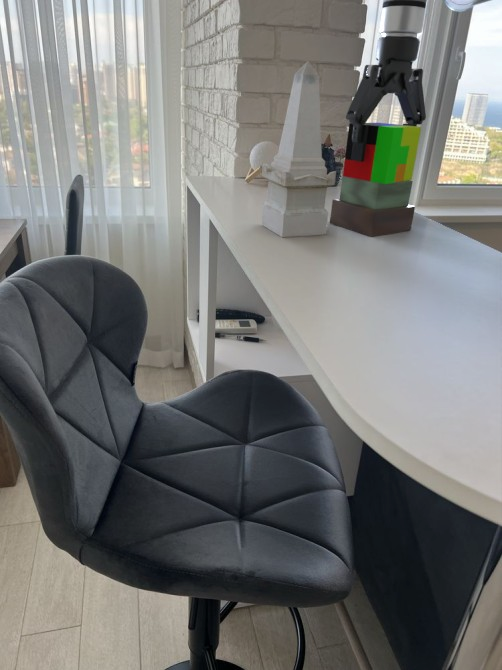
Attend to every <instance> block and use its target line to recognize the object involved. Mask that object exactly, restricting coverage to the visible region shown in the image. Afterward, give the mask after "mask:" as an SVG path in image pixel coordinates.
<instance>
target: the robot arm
mask: <svg viewBox="0 0 502 670" xmlns="http://www.w3.org/2000/svg"><path fill="white" fill-rule="evenodd" d="M427 1H428V0H382V8H381V16H380V24H379V30H378V31H379V32H378V33H379V34H380V35H381V37H379V38H378V39H377V45H376V52H375V60H376V61H378V63H377V64H365V65H364V68H363V73H362V78H361V80H360V83H359V85H358V86H357V89H356V91H355V94H354V96H353V97H352V101H351V103H350V105H349V108H348V110H347V112H346V114H345V119H346V120H347V121H349V123H353V134H352V142H353V148H352V156H351V160H354V161H360V162H364V158H365V150H366V142H367V135H368V127H369V125H364V124H365V123H367V121H368V120H369V119H370V117H371V116H372V114H373V113H374V111H375V110H376V108H377V107H378V106H379V104H380V102H381V101H382V99H383V98H384V97H385V96H386V95H388V94H394V96H396V97H397V100H398V103H399V105H400V108H401V111H402V114H403V117H404V120H405V122H406V123H402V125H406V126H416V127H418V125H422V124H423V122H424V121H425V120H426V118H427V114H426V105H425V104H426V103H425V97H424V87H423V76H424V69H423V68H413V63H415V62H417V60H418V56H419V52H420V44H421V40H420V39H419V36H421V35H422V34H423V27H424V22H425V16H426V7H427ZM491 1H492V0H444V1H443V2H444V3H445V5H446V7H447V8H449V9H450V10H451V11H454V12H465V11H469V10H471V9H472V8H474V7H475V6H478V5H481V4H484V3H488V2H491Z"/></svg>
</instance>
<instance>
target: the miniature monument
mask: <svg viewBox="0 0 502 670" xmlns="http://www.w3.org/2000/svg"><path fill="white" fill-rule="evenodd" d="M321 128H322V125H321V97H320V75H319V74H318V72H317V71H316V70H315V68H314V67H313V65H312V64H311V63H310V61H309V60H307V61H306V62H305V63H304V64H303V65H302V66H301V67H300V68H299V69H298V70H297V72H295V73H294V76H293V81H292V85H291V90H290V95H289V100H288V104H287V109H286V113H285V118H284V122H283V128H282V132H281V137H280V142H279V148H278V151H277V154H275V155H274V156H273V161H272V162H271V163H270V166H269V164H267V163H264V162H263V163H262V167H261V177H262V178H264V179H265V180H267V183H268V184H267V196H266V197H267V198H266V201H264V203H262V215H261V217H262V218H261V226H263V227H265V228H266V229H268V230H269V231H271V232H272V233H274V234H276V235H278V236H279V237H281V238H292V237H294V238H295V237H307V236H324V235H325V236H326V232H327V224H328V217H329V212H328V211H327V209H326V208H325V207H326V197H327V188H329V187H332V186H335V185H336V179H337V178H336V177H337V170H334V171H330V172H329V173H328V168H327V167H326V160H325V159H324V158H323V156H322V155H323V154H322V152H323V151H322V129H321ZM327 173H328V174H327Z"/></svg>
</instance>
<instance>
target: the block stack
mask: <svg viewBox="0 0 502 670" xmlns="http://www.w3.org/2000/svg"><path fill="white" fill-rule="evenodd" d="M412 187H413V180H407V181H401V182H395V183H389V184H382V183H377V182H371V181H366V180H361V179H355V178H350V177H344V176H343V175H342V177H341V183H340V190H339V191H340V193H339V198H334V199H332V201H331V209H330V218H329V224H332V225H334V226H338V227H341V228H344V229H346V230H350V231H353V232H356V233H358V234H362V235H365V236H368V237H370V238H371V237H378V236H384V235H390V234H391V235H392V234H396V233H402V232H408V231H411V230H412V226H413V219H414V216H415V210H416V206H415V205H411V204H409V203H410V198H411V193H412Z"/></svg>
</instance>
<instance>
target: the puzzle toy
mask: <svg viewBox="0 0 502 670" xmlns="http://www.w3.org/2000/svg"><path fill="white" fill-rule="evenodd" d="M364 125H369V127H368V135H367V142H366V150H365V158H364V162H360V161H354V160H351V156H352V148H353V142H352V134H353V123H350V122H349V124H348V131H347V139H346V146H345V147H346V148H345V153H344V154H345V155H344V162H343V169H342V170H343V171H342V176H344V177H350V178H355V179H361V180H366V181H371V182H377V183H382V184H389V183H395V182H401V181H407V180H411V181H413V177H414V176H413V175H414V170H415V164H416V159H417V153H418V148H419V143H420V136H421V132H422V126H417V127H416V126H406V125H403V124H396V123H386V122H366V123H365V124H364Z"/></svg>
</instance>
